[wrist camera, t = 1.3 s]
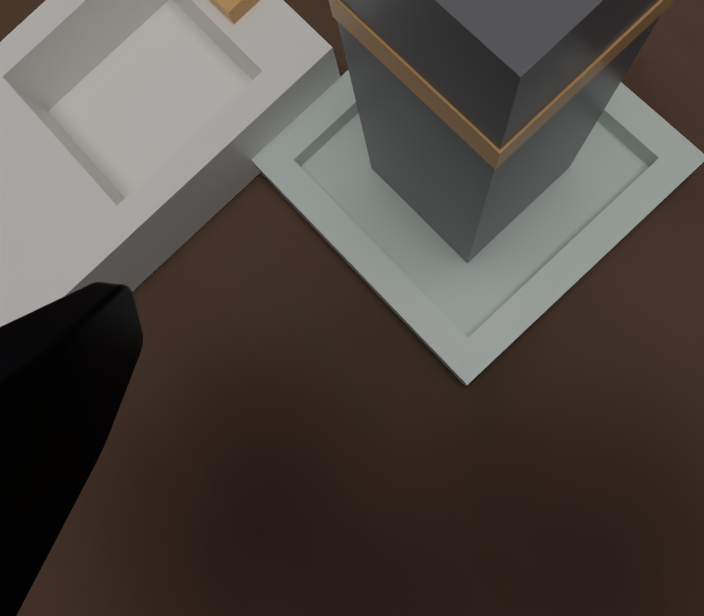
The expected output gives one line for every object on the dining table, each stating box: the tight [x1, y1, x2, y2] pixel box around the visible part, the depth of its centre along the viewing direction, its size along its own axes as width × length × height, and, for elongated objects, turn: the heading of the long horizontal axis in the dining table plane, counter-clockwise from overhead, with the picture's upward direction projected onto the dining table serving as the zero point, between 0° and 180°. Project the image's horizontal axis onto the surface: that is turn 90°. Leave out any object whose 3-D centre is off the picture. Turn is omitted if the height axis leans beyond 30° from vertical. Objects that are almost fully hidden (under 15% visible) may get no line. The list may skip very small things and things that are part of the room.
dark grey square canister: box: [329, 0, 673, 263], centre depth 15 cm, size 5×5×14 cm
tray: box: [252, 70, 704, 386], centre depth 21 cm, size 10×10×1 cm
